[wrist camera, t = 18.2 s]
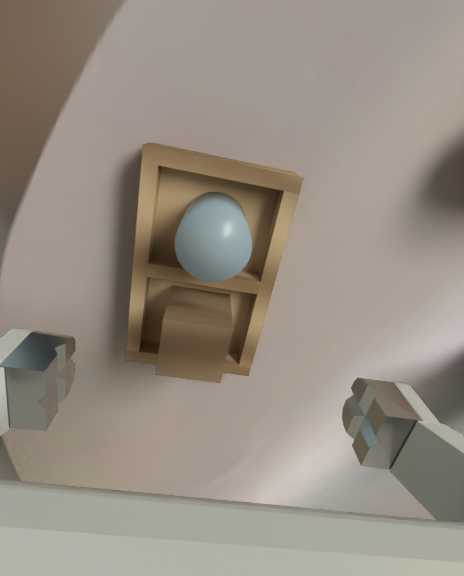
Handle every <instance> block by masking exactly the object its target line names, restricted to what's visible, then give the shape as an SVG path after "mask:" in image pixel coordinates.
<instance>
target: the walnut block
mask: <svg viewBox="0 0 464 576" xmlns="http://www.w3.org/2000/svg"><path fill="white" fill-rule="evenodd" d="M232 333H233V320H232V310H231V300H230V294H225V293H218V292H212V291H206V290H200V289H194V288H188V287H181V286H175V285H172V287H171V291H170V295H169V298H168V302H167V306H166V310H165V314H164V317H163V323H162V331H161V338H160V345H159V353H158V360H157V367H156V375H161V376H169V377H177V378H185V379H193V380H200V381H208V382H216V383H220V382H221V378H222V374H223V370H224V366H225V362H226V357H227V353H228V349H229V345H230V341H231V337H232Z"/></svg>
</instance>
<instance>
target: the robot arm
mask: <svg viewBox="0 0 464 576" xmlns="http://www.w3.org/2000/svg"><path fill="white" fill-rule="evenodd" d="M74 352H75V339H74V338H73V337H71V336H65V335H59V334H53V333H47V332H41V331H33V330H28V329H21V328H13V329H10V330H9V331H8V332H7V333H6V334H5V335H4V336H3V337H1V338H0V435H2V434H3V433H5V432H6V431H8V430H9V428H18V429H30V430H42V431H46V430H47V428H48V427H49V425H50V423H51V422H52V420H53V418H54V417H55V415H56V413H57V412H58V402H60V401H61V400H63V399H65V398H66V396H67V394H68V393H69V391H70V388H71V385H72V383H73V379H74V373H75V363H74V362H73V360H72V359H71V356H72V355H73V353H74ZM351 390H352V392H353V395H352V396H351V397H350V398H348V399H347V400H346V402H345V404H344V407H343V413H342V420H343V425H344V428H345V430H346V432H347V433H348V434H349V435H350V436H351V437H352V438H353V439H354V442H353V444H352V446H353V448H354V451H355V453H356V455H357V457H358V460H359V462H360V464H361V466H367V467H374V468H381V469H388V470H390V472H391V473H392V474H393V475H394V476H395V477H396V478H397V479H398V480H399V481H400V482H401V483H402V484H403V486H404V487H405V488H406V489H407V490H408V491H409V492H410V493H411V494H412V495H413V496H414V497H415V498H416V499H417V500H418V501H419V502H420V503H421V504H422V505H423V506H424V508H425V509H426V510H427V511H428V512H429V513H430V514H431V515H432V516H433V517H434V518H435V519H436V520H430V519H419V518H408V517H397V516H386V515H376V514H365V513H355V512H345V511H334V510H324V509H313V508H303V507H292V506H281V505H271V504H260V503H249V502H238V501H228V500H217V499H206V498H195V497H185V496H174V495H163V494H152V493H142V492H131V491H120V490H110V489H99V488H88V487H78V486H67V485H56V484H45V483H35V482H24V481H13V480H3V479H0V576H464V436H462V435H461V434H459V433H458V432H456V431H455V430H453V429H452V428H450V427H449V426H447V425H446V424H440V423H439V421H438V420H437V419H436V418H435V416H434V415H433V414H432V413H431V411H430V410H429V409H428V407H427V406H426V405H425V404H424V402H423V401H422V400H421V399H420V397H419V396H418V395H417V393H416V392H415V391H414V390H413V388H412V387H411V386H410V385H408V384H406V383H400V382H391V381H390V382H388V381H380V380H372V379H364V378H357V379H356V380H355V381H354V383H353V385H352V387H351Z"/></svg>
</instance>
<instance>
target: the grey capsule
mask: <svg viewBox="0 0 464 576" xmlns="http://www.w3.org/2000/svg"><path fill="white" fill-rule="evenodd" d="M251 251H252V240H251V236H250V232H249V228H248V224H247V220H246V216H245V213H244V210H243V208H242V207H241V205H240V204H239V202H238V201H237V200H236V199H234V198H233V197H231V196H230V195H228V194H225V193H222V192H207V193H203V194H201V195H199V196H198V197H196V198H195V199H194V200H192V202H191V203H190V204H189V205H188V207H187V209H186V211H185V214H184V216H183V218H182V221H181V223H180V226H179V228H178V231H177V233H176V237H175V252H176V256H177V258H178V260H179V262H180V264H181V265H182V267H183V268H184V269H185V270H186V271H187V272H188V273H189V274H191V275H192V276H194V277H196V278H198V279H200V280H204V281H209V282H219V281H224V280H227V279H230V278H232V277H234V276H235V275H237V274H238V273H239V272H240V271H242V270H243V268H244V267H245V266H246V264H247V263H248V261H249V258H250V255H251Z"/></svg>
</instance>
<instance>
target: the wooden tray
mask: <svg viewBox="0 0 464 576" xmlns="http://www.w3.org/2000/svg"><path fill="white" fill-rule="evenodd" d="M302 182H303V177H301V176H299V175H297V174H296V173H293V172H289V171H284V170H279V169H274V168H270V167H265V166H260V165H255V164H251V163H246V162H241V161H236V160H232V159H227V158H222V157H217V156H212V155H208V154H203V153H198V152H193V151H189V150H184V149H179V148H174V147H170V146H165V145H160V144H155V143H146V144H143V149H142V161H141V174H140V186H139V198H138V210H137V222H136V235H135V247H134V259H133V271H132V283H131V296H130V308H129V320H128V332H127V344H126V357H125V360H126V361H134V362H142V363H150V364H157V360H158V353H159V345H160V338H161V331H162V323H163V317H164V314H165V310H166V306H167V302H168V298H169V295H170V291H171V287H172V285H175V286H181V287H188V288H194V289H200V290H206V291H212V292H218V293H225V294H230V300H231V310H232V320H233V333H232V337H231V341H230V345H229V349H228V353H227V357H226V362H225V366H224V370H223V373H229V374H236V375H244V376H249V372H250V369H251V365H252V362H253V358H254V354H255V351H256V347H257V344H258V340H259V336H260V333H261V329H262V326H263V322H264V318H265V315H266V311H267V308H268V304H269V300H270V297H271V293H272V290H273V286H274V282H275V279H276V275H277V272H278V268H279V264H280V261H281V257H282V254H283V250H284V246H285V243H286V239H287V236H288V232H289V228H290V225H291V221H292V218H293V214H294V210H295V207H296V203H297V200H298V196H299V192H300V189H301V185H302ZM207 192H222V193H225V194H228V195H230V196H231V197H233V198H234V199H236V200H237V201H238V202H239V204H240V205H241V207H242V208H243V210H244V213H245V216H246V220H247V224H248V228H249V232H250V236H251V240H252V251H251V255H250V258H249V261H248V263H247V264H246V266H245V267H244V268H243V270H242V271H240V272H239V273H238V274H237V275H235V276H234V277H232V278H230V279H227V280H224V281H219V282H209V281H204V280H200V279H198V278H196V277H194V276H192V275H191V274H189V273H188V272H187V271H186V270H185V269H184V268H183V267H182V265H181V264H180V262H179V260H178V258H177V256H176V252H175V237H176V233H177V231H178V228H179V226H180V223H181V221H182V218H183V216H184V214H185V211H186V209H187V207H188V205H189V204H190V203H191V202H192V200H194V199H195V198H196V197H198V196H199V195H201V194H203V193H207Z"/></svg>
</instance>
